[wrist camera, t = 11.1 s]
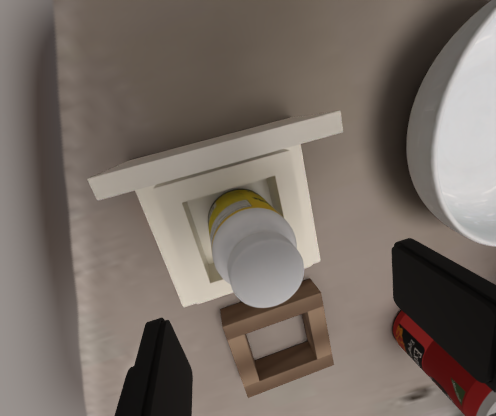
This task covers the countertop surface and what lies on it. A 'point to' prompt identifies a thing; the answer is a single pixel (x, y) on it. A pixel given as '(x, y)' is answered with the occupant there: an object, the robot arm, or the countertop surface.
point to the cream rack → (214, 184)
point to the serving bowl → (459, 131)
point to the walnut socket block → (289, 360)
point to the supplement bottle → (254, 248)
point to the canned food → (444, 369)
